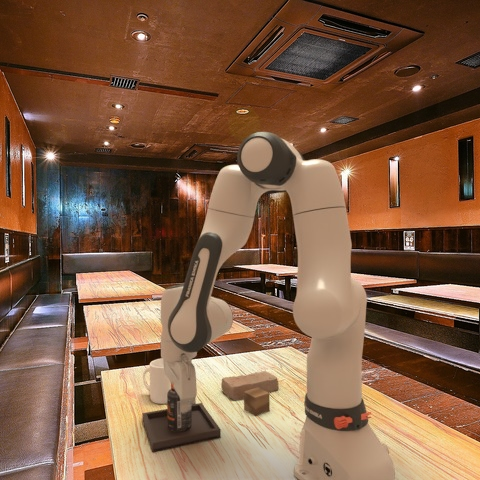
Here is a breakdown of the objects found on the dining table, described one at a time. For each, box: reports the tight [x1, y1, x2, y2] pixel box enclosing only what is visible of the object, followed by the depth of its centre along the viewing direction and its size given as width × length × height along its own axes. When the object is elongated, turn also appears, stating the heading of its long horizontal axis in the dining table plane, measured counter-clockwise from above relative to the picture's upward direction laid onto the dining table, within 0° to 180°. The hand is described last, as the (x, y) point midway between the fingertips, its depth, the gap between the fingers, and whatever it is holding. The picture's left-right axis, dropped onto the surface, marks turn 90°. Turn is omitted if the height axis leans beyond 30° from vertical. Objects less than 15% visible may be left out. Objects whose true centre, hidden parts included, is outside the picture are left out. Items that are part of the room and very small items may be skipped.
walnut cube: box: [243, 388, 271, 417], centre depth 106 cm, size 5×5×5 cm
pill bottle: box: [166, 382, 192, 432], centre depth 96 cm, size 6×6×11 cm
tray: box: [141, 402, 222, 453], centre depth 96 cm, size 16×16×2 cm
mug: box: [142, 358, 171, 405], centre depth 115 cm, size 9×12×11 cm
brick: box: [220, 370, 280, 401], centre depth 120 cm, size 17×8×5 cm, turn 119°
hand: (179, 404), depth 96 cm, fingers open, 7 cm apart
